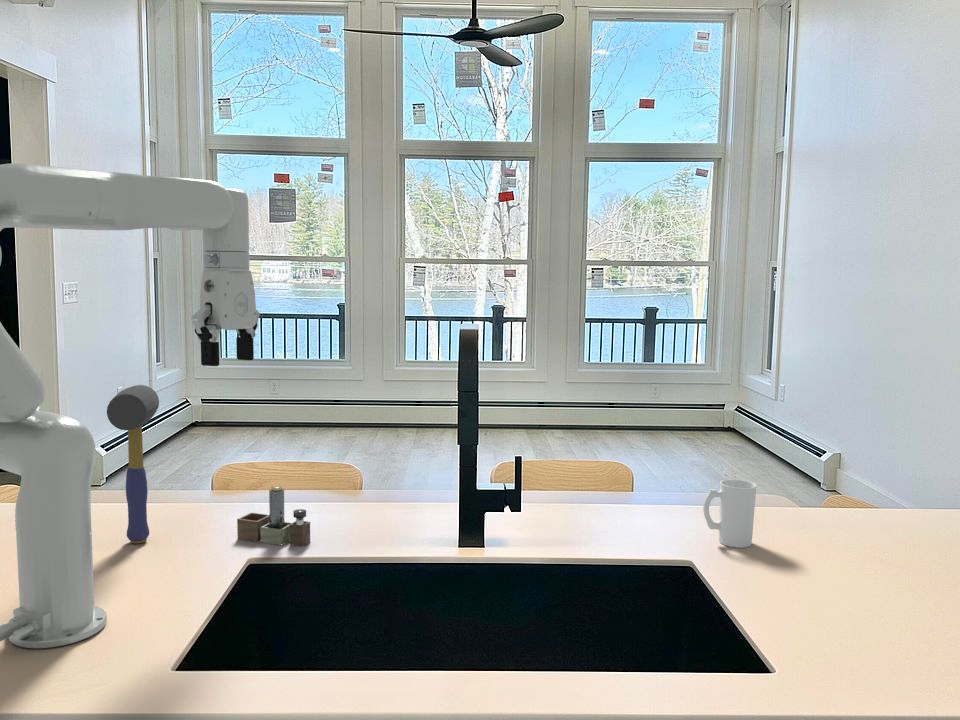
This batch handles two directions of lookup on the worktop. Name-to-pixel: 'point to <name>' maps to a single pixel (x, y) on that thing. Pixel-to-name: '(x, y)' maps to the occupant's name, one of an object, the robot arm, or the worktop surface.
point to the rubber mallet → (134, 451)
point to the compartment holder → (271, 530)
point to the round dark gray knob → (299, 516)
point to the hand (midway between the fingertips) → (228, 362)
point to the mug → (733, 512)
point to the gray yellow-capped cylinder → (276, 507)
